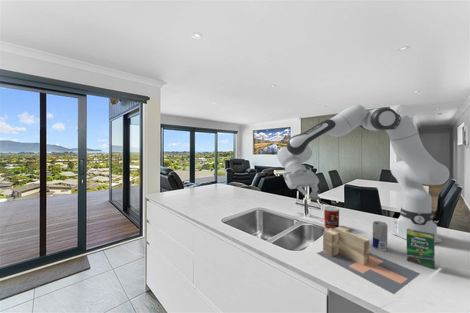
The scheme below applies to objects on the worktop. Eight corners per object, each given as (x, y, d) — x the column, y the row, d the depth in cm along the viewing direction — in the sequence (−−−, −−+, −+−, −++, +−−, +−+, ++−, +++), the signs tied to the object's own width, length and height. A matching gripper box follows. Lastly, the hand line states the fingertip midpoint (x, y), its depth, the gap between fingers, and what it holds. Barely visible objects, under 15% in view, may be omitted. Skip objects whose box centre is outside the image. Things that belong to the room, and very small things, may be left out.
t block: (342, 244, 93) (342, 225, 93) (375, 258, 81) (376, 236, 81) (323, 252, 86) (323, 232, 86) (356, 269, 74) (356, 245, 74)
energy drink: (373, 245, 93) (373, 220, 93) (387, 248, 90) (387, 222, 90) (371, 249, 89) (372, 223, 89) (386, 253, 86) (387, 226, 85)
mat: (344, 243, 95) (344, 242, 95) (420, 275, 71) (420, 273, 71) (316, 254, 86) (316, 253, 86) (393, 295, 61) (393, 294, 61)
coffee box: (405, 261, 80) (406, 229, 79) (407, 259, 82) (407, 227, 81) (433, 271, 73) (434, 236, 73) (434, 268, 75) (435, 234, 75)
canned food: (324, 228, 113) (325, 209, 113) (323, 223, 121) (323, 205, 120) (339, 230, 111) (340, 211, 110) (337, 225, 118) (338, 207, 118)
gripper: (284, 169, 101) (299, 191, 92) (312, 167, 111) (327, 187, 103) (278, 176, 105) (292, 199, 96) (305, 174, 115) (320, 194, 107)
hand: (310, 193), depth 100 cm, fingers open, 6 cm apart
